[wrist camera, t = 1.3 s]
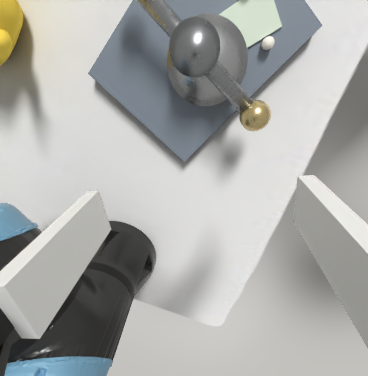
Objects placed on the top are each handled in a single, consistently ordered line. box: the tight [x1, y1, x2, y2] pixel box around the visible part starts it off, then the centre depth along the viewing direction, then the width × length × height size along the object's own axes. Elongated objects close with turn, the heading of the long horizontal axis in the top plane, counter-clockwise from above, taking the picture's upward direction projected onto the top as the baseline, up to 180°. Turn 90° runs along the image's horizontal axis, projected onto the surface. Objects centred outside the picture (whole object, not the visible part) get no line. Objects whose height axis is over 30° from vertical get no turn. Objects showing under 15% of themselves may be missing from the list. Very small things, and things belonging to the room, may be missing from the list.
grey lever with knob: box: [136, 0, 271, 131], centre depth 23 cm, size 21×9×6 cm, turn 47°
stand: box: [88, 0, 322, 162], centre depth 26 cm, size 22×17×3 cm
